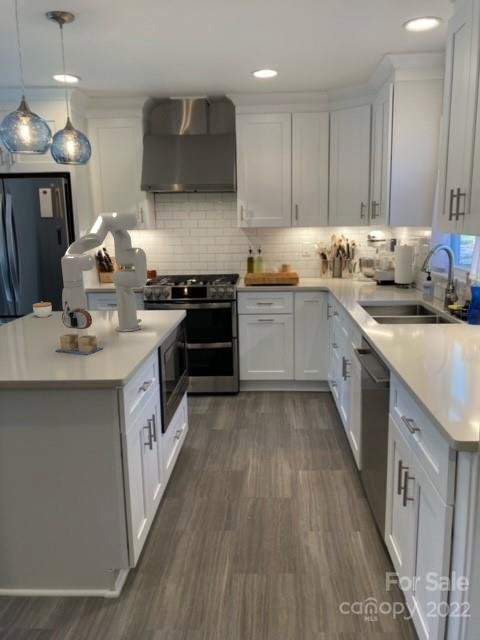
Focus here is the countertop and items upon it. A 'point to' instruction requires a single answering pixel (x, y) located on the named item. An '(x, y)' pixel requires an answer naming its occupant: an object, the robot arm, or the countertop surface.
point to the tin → (78, 319)
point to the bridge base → (78, 344)
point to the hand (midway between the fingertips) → (77, 325)
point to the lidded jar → (42, 309)
